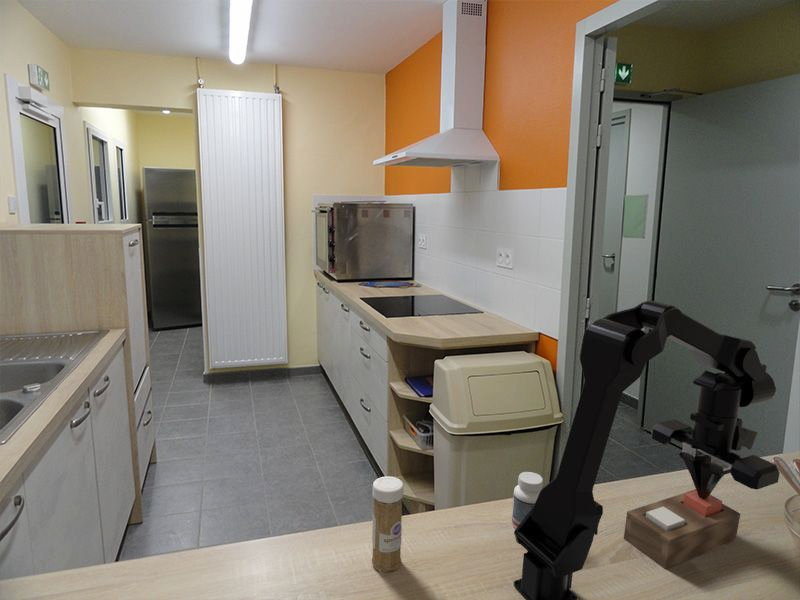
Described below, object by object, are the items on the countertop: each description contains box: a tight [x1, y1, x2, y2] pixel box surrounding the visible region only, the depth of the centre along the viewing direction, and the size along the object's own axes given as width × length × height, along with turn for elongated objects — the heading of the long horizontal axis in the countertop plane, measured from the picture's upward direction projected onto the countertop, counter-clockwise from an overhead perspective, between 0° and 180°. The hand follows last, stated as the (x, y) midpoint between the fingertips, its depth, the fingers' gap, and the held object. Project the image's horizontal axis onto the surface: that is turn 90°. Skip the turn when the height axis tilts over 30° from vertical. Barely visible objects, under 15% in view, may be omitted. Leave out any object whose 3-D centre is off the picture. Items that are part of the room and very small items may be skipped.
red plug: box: [683, 490, 723, 517], centre depth 92 cm, size 4×4×5 cm
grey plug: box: [646, 507, 685, 531], centre depth 88 cm, size 4×4×5 cm
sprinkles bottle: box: [371, 476, 404, 573], centre depth 82 cm, size 5×5×13 cm
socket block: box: [623, 488, 741, 570], centre depth 90 cm, size 17×8×5 cm, turn 116°
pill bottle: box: [510, 471, 544, 529], centre depth 93 cm, size 5×5×9 cm
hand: (703, 497), depth 91 cm, fingers closed, pressing on red plug
